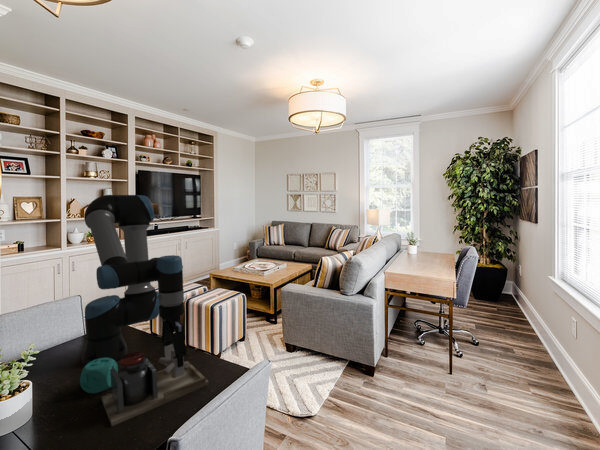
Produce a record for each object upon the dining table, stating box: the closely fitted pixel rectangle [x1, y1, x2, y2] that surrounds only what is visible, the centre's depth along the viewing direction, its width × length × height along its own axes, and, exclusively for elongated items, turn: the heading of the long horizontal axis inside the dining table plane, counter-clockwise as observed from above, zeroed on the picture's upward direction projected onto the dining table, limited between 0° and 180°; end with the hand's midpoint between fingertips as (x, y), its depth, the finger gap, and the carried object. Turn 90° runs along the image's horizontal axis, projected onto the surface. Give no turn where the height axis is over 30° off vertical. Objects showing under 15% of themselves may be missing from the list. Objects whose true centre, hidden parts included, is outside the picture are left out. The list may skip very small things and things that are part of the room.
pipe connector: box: [158, 347, 190, 378], centre depth 100 cm, size 10×10×10 cm
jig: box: [101, 360, 210, 427], centre depth 97 cm, size 15×28×3 cm, turn 132°
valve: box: [110, 351, 158, 414], centre depth 93 cm, size 10×10×14 cm
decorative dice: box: [79, 358, 119, 394], centre depth 101 cm, size 8×8×8 cm
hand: (174, 369), depth 101 cm, fingers closed on pipe connector, 9 cm apart
